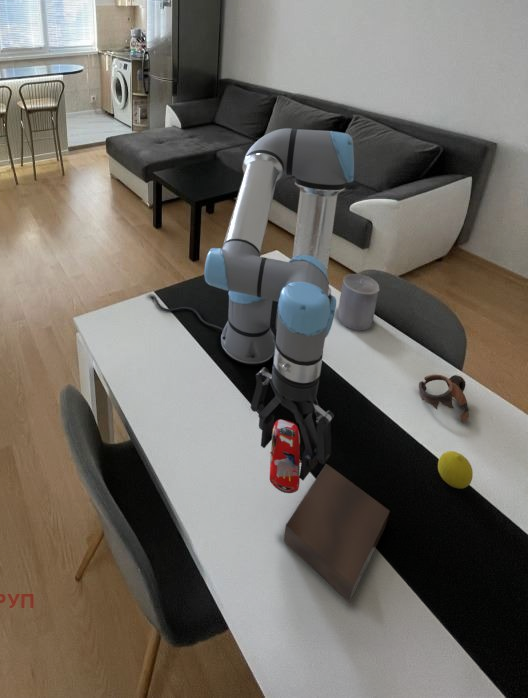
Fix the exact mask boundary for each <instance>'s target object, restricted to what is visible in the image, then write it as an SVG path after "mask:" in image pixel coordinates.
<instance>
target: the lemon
mask: <svg viewBox="0 0 528 698" xmlns="http://www.w3.org/2000/svg"><path fill="white" fill-rule="evenodd" d="M437 471H438V473H439V476H440V477H441V479H442V480H443V481H444V482H445V483H446V484H447V485H449V486H450V487H452V488H454V489H465V488H467V487H469V486H470V484H471V483H472V481H473V476H474V475H473V474H474V472H473V471H474V470H473V468H472V465H471V463H470V461H469V459H467V458H466V457H465V455H463V454H461V453H459V452H457V451H453V450H449V451H448V450H447V451H445V452H443V453H442V454H441V456H440V457H439V458H438V462H437Z"/></svg>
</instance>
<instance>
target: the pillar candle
mask: <svg viewBox="0 0 528 698" xmlns="http://www.w3.org/2000/svg"><path fill="white" fill-rule="evenodd" d="M379 292H380V285H379V283H378V282H377V281H376V280H375V279H373V278H372V277H370V276H367V275H364V274H361V273H349V274H346V275H345V276H344V277H343V278H342V286H341V290H340V295H339V302H338V307H337V313H336V316H337V319H338V321H339V322H340V323H341V324H342V325H343V326H345V327H346V328H349V329H351V330H355V331H365V330H369V329H370V328H372V325H373V322H374V317H375V312H376V308H377V301H378V298H379Z"/></svg>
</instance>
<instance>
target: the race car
mask: <svg viewBox="0 0 528 698" xmlns="http://www.w3.org/2000/svg"><path fill="white" fill-rule="evenodd" d="M300 446H301V436H300V431H299V427H298V425H297V424H296V423H294V422H292V421H289V420H285V419H277V420H276V421H275V422H274V424H273V434H272V440H271V449H270V452H269V454H270V461H269V462H270V463H269V482H270V483H271V485H272V486H273V487H274V488H275V489H276V490H277V491H280V492H281V493H285V494H294V493H296V492H298V491H299V489H300V483H301V479H300V469H301V462H302V460H300V459H301V455H300V454H301V453H300V452H301V451H300V450H301V448H300Z"/></svg>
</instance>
